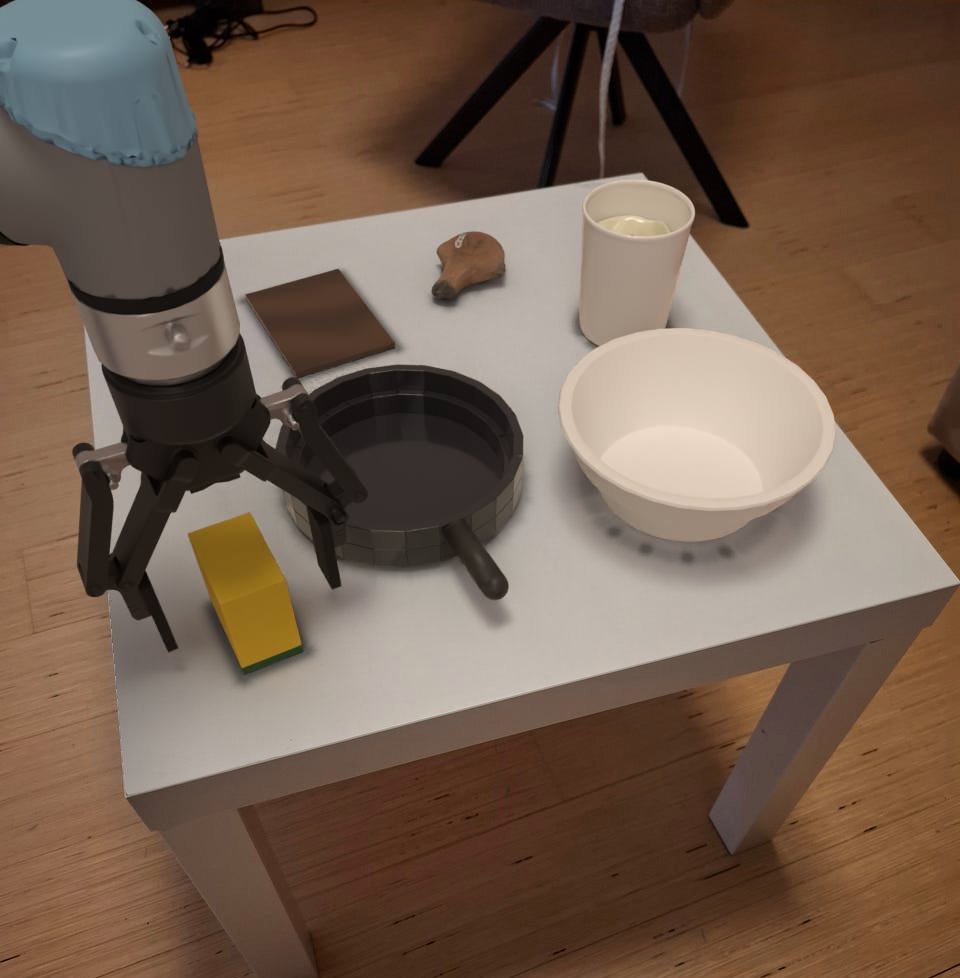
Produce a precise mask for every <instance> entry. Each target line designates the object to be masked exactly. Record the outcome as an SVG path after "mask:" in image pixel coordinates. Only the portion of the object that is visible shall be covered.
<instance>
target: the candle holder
mask: <svg viewBox="0 0 960 978" xmlns="http://www.w3.org/2000/svg"><path fill="white" fill-rule="evenodd" d="M581 212H582V222H581V223H582V224H581V225H582V226H581V253H580V254H581V255H580V277H579V278H580V279H579V311H578V313H579V318H578V319H579V321H578V322H579V328H580V330H581V333H582V334H583V335H584V337H585V338H586V339H588V340H589V341H590V342H591V343H593V344H594V345H596V346H597V347H599V346H601V345H603V344H605V343H607V342H610V341H612V340H614V339H616V338H619V337H623V336H626V335H629V334H633V333H636V332H642V331H648V330H655V329H666V327H667V323H668V320H669V315H670V312H671V309H672V305H673V301H674V297H675V293H676V289H677V285H678V282H679V278H680V273H681V269H682V264H683V261H684V257H685V254H686V249H687V246H688V243H689V238H690V233H691V230H692V226H693V223H694V221H695V218H696V209H695V206H694V203H693V202H692V200H691V199H690V198H689V197H688V196H687V195H686V194H685V193H683V192H682V191H680V190H679V189H678V188H675V187H673V186H672V185H668V184H665V183H662V182H659V181H653V180H648V179H640V178H639V179H638V178H635V179H634V178H633V179H632V178H631V179H629V178H627V179H617V180H613V181H612V180H611V181H608V182H606V183H603V184H600V185H597V186H596V187H594V188H592V190H591V191H589V192H588V193H587V194H586V195H585V196H584V199H583V201H582V205H581Z"/></svg>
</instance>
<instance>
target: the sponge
mask: <svg viewBox="0 0 960 978" xmlns="http://www.w3.org/2000/svg"><path fill="white" fill-rule="evenodd" d="M187 537H188V540H189V543H190V546H191V548H192V551H193V554H194V557H195V560H196V563H197V565H198V568H199V570H200V573H201V577H202V579H203V582H204V585H205V588H206V591H207V593H208V596H209V599H210V601H211V604H212V608H213V609H214V611H215V614H216V616H217V618H218V621H219V622H220V625H221V627H222V630H223V631H224V634H225V636H226V638H227V640H228V643H229V645H230V647H231V649H232V651H233V654H234V655H235V656H234V657H235V659H236V660H237V663H238V665H239V667H240V669H241V671H242V673H243V675H247V674H249V673H252V672H255V671H257V670H260V669H262V668H265V667H267V666H270V665H272V664H275V663H278V662H280V661H282V660H285V659H287V658H290V657H292V656H295V655H298V654H300V653H302V652H304V647H303V644H302V639H301V636H300V632H299V628H298V624H297V619H296V615H295V612H294V608H293V604H292V599H291V596H290V592H289V591H290V590H289V588H288V584H287V583H288V582H287V579H286V578H285V576H284V574H283V572H282V570H281V568H280V566H279V564H278V562H277V560H276V558H275V557H274V554H273V553H272V551H271V549H270V547H269V545H268V543H267V541H266V539H265V538H264V535H263V533H262V532H261V529H260V528H259V526H258V524H257V522H256V520H255V518H254V516H253V514H252V513H251V511H248V512H245V513H242V514H240V515H236V516H234V517H231V518H228V519H226V520H225V519H224V520H222V521H219V522H216V523H214V524H210V525H207V526H205V527H203V528H199V529H196V530H193V531H191V532H188V533H187Z"/></svg>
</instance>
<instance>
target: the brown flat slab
mask: <svg viewBox="0 0 960 978" xmlns="http://www.w3.org/2000/svg"><path fill="white" fill-rule="evenodd" d="M245 300H246V302H247V303H248V304H249V306H250V307H251V309H252V311H253V312H254V314H255V315H256V317H257V319H258V320H259V322H260V323H261V325H262V326H263V328H264V330H265V331H266V333H267V334H268V336H269V338H270V339H271V340H272V342H273V344H274V345H275V347H276V349H278V351H279V353H280V354H281V356H282V358H283V359H284V360H285V362H286V364H287V365H288V367H289V369H290V370H291V372H292V373H293V375H294V377H295V378H298V379H299V378H302V377H305V376H308V375H313V374H315V373H318V372H321V371H324V370H328V369H331V368H334V367H337V366H341V365H344V364H347V363H350V362H354V361H357V360H361V359H363V358H366V357H370V356H374V355H376V354H379V353H383V352H387V351H390V350H392V349H395V348H396V342H395V341H394V340H393V338H392V337H391V336H390V334H389V333H388V331H387V330H386V329H385V328H384V326H383V325H382V324H381V322H380V321H379V320H378V318H377V317H376V316H375V315H374V313H373V312H372V310H371V309H370V308H369V306H367V304H366V303H365V302H364V300H363V299H362V297H361V296H360V295H359V294H358V292H357V291H356V290H355V288H354V286H352V284H351V283H350V282H349V281H348V279H347V278H346V277H345V275H344V273H342V272H341V270H340V269H339V268H335V269H332V270H328V271H324V272H321V273H317V274H313V275H310V276H307V277H304V278H303V277H302V278H299V279H296V280H292V281H289V282H286V283H282V284H278V285H274V286H271V287H267V288H263V289H260V290H255V291H252V292H249V293H246V294H245Z"/></svg>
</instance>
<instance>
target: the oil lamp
mask: <svg viewBox="0 0 960 978" xmlns="http://www.w3.org/2000/svg"><path fill="white" fill-rule="evenodd" d="M435 253H436V255H437V257H438V259H439V261H440V263H441V266H442V269H443V271H442V272H441V274H440V277H439V278H438V279H437V280H436V281H435V283H434V284H433V285H432V286H431V294H432V296H433V297H434V298H436V299H440V300H444V299H448V300H453V299H455V298H456V296H457V295H458V293H459V292H460V291H461V290H463V289H464V288H466V287H468V286H472V285H477V284H479V283H482V282H486V281H489V280H491V279H494V278H497V277H499V278H500V277H501V276H503V275H504V274H505V273H506V272H507V269H506V262H505V258H506V255H505V250H504V248H503V245H502V244H501V242H499V240H498V239H496V238H495V237H493V236H492V235H491V234H488V233H486V232H483V231H473V230H472V231H471V230H470V231H465V232H462V233H459V234H456V235H455V236H453V237H451V238H450V239H448V240H446V241H444V242H442V243H441V244H439V245H438V247H437V248H436V252H435Z"/></svg>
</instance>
